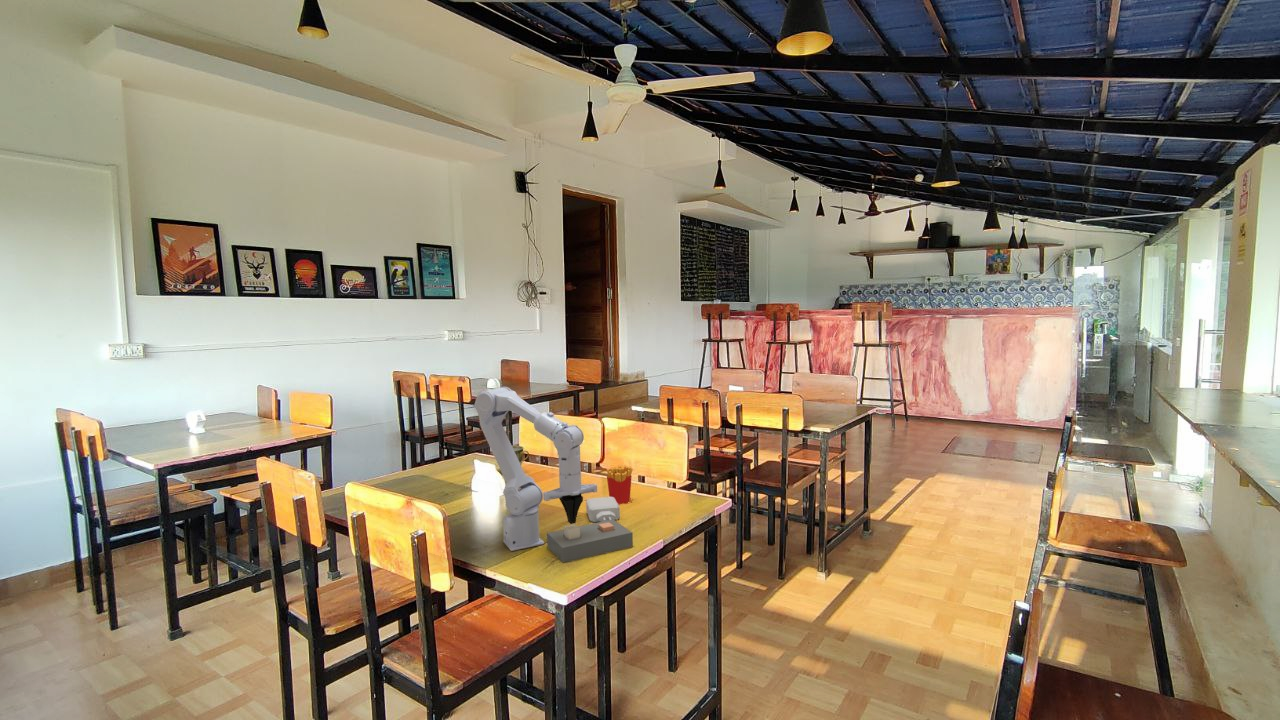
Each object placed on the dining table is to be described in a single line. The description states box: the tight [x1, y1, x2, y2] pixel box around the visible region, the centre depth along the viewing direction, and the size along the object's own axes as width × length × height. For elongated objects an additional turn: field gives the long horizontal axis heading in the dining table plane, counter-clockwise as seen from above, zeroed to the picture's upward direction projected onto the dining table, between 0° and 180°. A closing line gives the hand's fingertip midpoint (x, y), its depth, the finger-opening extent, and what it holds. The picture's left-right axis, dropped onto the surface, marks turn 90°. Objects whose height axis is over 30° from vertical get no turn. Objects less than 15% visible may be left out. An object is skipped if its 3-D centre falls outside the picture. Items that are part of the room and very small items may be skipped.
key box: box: [546, 519, 634, 564], centre depth 166 cm, size 20×12×4 cm, turn 118°
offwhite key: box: [563, 523, 580, 540], centre depth 164 cm, size 3×3×3 cm
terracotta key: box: [598, 522, 614, 533], centre depth 168 cm, size 3×3×3 cm
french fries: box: [606, 464, 633, 505], centre depth 204 cm, size 8×4×12 cm, turn 103°
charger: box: [585, 496, 621, 523], centre depth 188 cm, size 5×9×15 cm
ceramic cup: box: [512, 445, 530, 466], centre depth 242 cm, size 13×10×10 cm
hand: (571, 522), depth 163 cm, fingers closed
